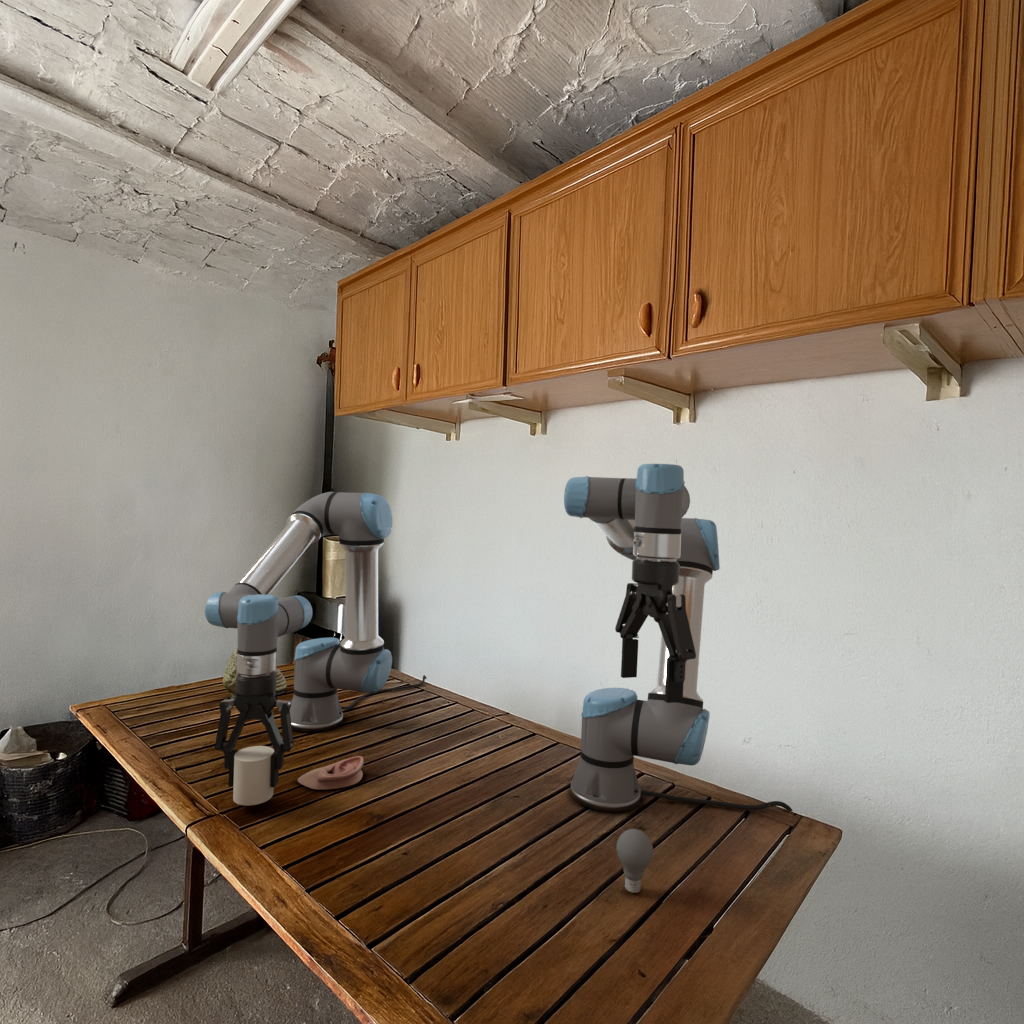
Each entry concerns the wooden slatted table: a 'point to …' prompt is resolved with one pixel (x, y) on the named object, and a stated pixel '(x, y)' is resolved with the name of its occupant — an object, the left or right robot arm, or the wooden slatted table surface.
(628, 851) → the light bulb
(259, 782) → the can
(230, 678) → the fossil
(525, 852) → the wooden slatted table surface
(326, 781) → the anatomical model
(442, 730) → the wooden slatted table surface
